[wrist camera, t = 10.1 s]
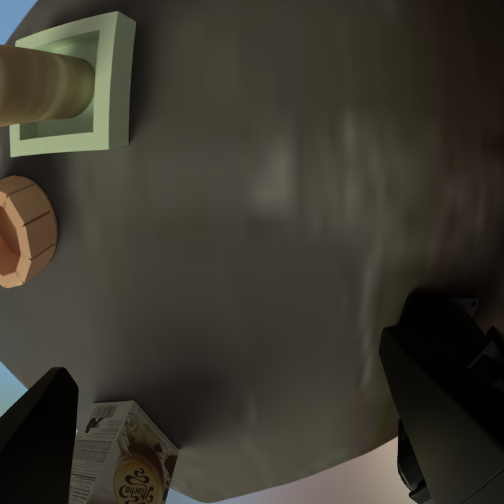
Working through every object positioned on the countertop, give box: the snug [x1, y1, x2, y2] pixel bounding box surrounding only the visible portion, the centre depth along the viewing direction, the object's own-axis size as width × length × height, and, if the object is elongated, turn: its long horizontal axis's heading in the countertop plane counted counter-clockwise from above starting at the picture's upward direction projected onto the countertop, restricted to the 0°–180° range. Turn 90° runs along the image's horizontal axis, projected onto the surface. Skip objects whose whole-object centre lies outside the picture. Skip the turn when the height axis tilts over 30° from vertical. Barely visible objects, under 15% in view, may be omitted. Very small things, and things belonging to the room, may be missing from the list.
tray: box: [10, 11, 136, 157], centre depth 15 cm, size 8×8×3 cm
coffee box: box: [69, 400, 179, 504], centre depth 21 cm, size 9×6×16 cm
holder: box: [0, 175, 58, 288], centre depth 19 cm, size 8×8×4 cm
